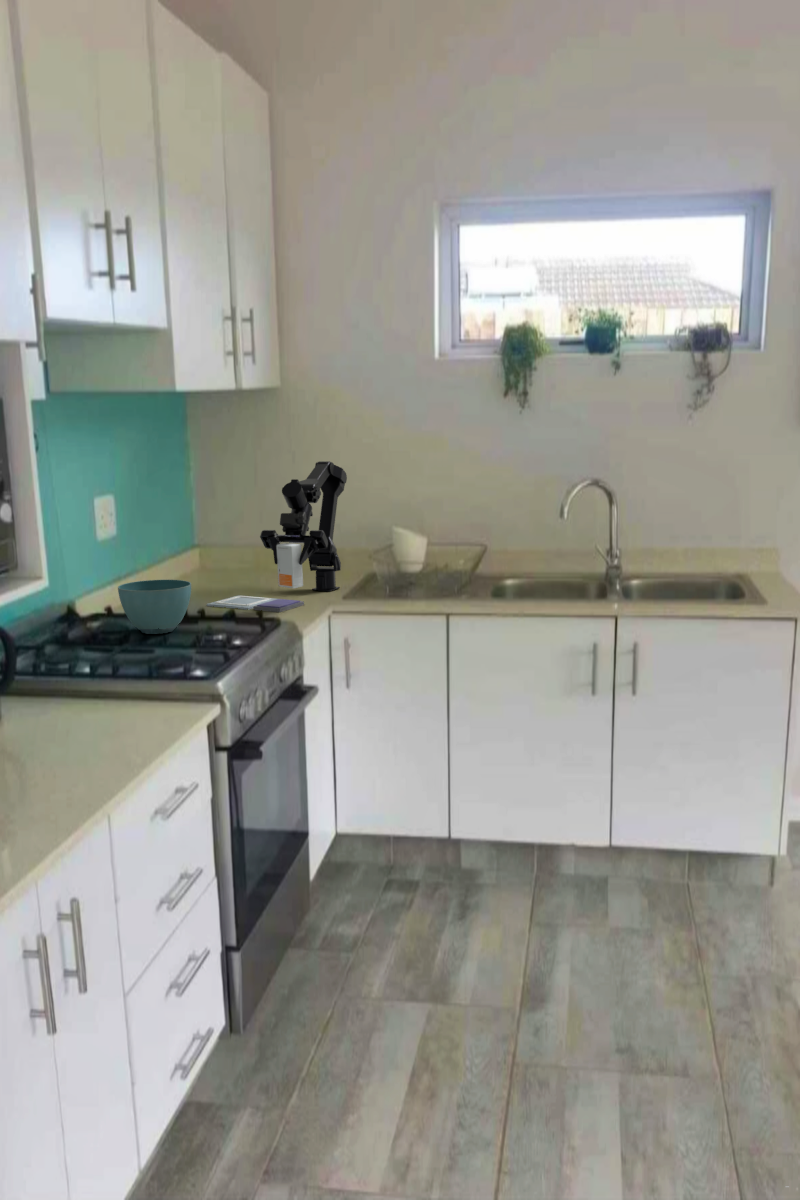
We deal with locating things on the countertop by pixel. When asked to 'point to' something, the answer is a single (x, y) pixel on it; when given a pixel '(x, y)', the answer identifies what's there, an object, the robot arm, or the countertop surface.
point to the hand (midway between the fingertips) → (287, 563)
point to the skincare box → (289, 565)
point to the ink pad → (279, 605)
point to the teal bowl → (155, 602)
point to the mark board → (241, 602)
